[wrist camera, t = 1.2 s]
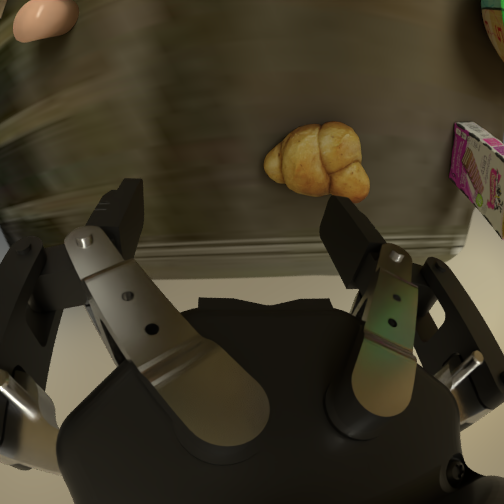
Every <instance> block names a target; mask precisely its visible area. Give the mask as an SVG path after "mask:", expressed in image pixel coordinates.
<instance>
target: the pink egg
mask: <svg viewBox="0 0 504 504" xmlns="http://www.w3.org/2000/svg"><path fill="white" fill-rule="evenodd" d="M78 16H79V8H78V5H77V4H76V3H75V2H74V1H72V0H31V1H29V2H27V3H26V4H25V5H24V6H23V7H22V8H21V9H20V10H19V12H18V13H17V15H16V17H15V20H14V24H13V33H14V36H15V38H16V39H17V40H18V41H20V42H30V41H34V40H39V39H44V38H49V37H55V36H60V35H63V34H65V33H67V32H68V31H70V30H71V29H72V27H73V26H74V25H75V23H76V21H77V19H78Z"/></svg>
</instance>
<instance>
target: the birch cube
mask: <svg viewBox="0 0 504 504" xmlns="http://www.w3.org/2000/svg"><path fill="white" fill-rule="evenodd" d="M6 2H7V0H0V19H1V16H2V13H3V10H4V7H5V4H6Z"/></svg>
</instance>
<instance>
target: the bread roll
mask: <svg viewBox="0 0 504 504" xmlns="http://www.w3.org/2000/svg"><path fill="white" fill-rule="evenodd" d="M361 160H362V155H361V146H360V140H359V137H358V136H357V135H356V133H355V132H354V130H353V129H352V128H351V127H349V126H347V125H345V124H343V123H341V122H335V121H332V122H326V123H324V124H323V125H320V124H309V125H304V126H302V127H298V128H297V129H295V130H293V131H291V132H290V133H289V134H288V135H287V136H286V137H285V139H284V140H283V141H282V142H280V143H279V144H278V145H276V146H275V147H274V148H273V149H272V150H271V151H270V152H269V153H268V154H267V155H266V157H265V159H264V169H265V172H266V173H267V174H268V176H269V177H270V178H271V179H272V180H274V181H275V182H277V183H281V184H282V183H283V184H286V185H287V187H288V188H289V189H290V190H293V191H295V192H296V193H299V194H304V195H308V196H314V197H320V196H323V195H328V194H332V195H335V196H342V197H348V198H349V199H350V200H351V201H352V202H353V203H359V202H361V201H362V200H364V199H365V197H366V196H367V195H368V193H369V189H370V182H369V178H368V176H367V174H366V172H365V170H364V169H363V167H362V166H361Z"/></svg>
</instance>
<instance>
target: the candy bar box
mask: <svg viewBox="0 0 504 504" xmlns="http://www.w3.org/2000/svg"><path fill="white" fill-rule="evenodd" d="M449 179H450V180H451V181H452V182H453V183H454V184H455V185H456V186H457V187H458V188H459V189H460V190H461V191H462V192H463V193H464V194H465V195H466V196H467V198H468V199H469V200H470V201H471V202H472V203H473V204H474V205H475V207H476V208H477V209H478V210H479V211H480V212H481V213H482V215H483V216H484V217H485V218H486V220H487V221H488V222H489V223H490V225H491V226H492V227H493V228H494V230H495V231H496V232H497V233H498V235H499V236H500V237H501V239H502V240H504V144H503V143H502V142H501V141H500V140H498V139H497V138H496V137H494V136H493V135H492V134H490V133H489V132H487V131H486V130H485V129H483V128H482V127H480V126H479V125H478V124H476V123H475V122H473V121H469V122H455V127H454V140H453V150H452V159H451V166H450V173H449Z"/></svg>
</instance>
